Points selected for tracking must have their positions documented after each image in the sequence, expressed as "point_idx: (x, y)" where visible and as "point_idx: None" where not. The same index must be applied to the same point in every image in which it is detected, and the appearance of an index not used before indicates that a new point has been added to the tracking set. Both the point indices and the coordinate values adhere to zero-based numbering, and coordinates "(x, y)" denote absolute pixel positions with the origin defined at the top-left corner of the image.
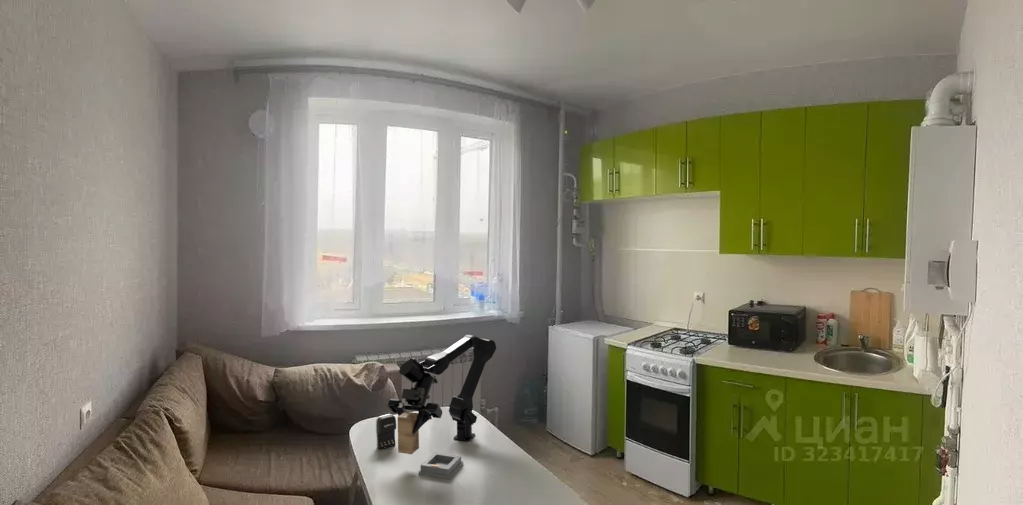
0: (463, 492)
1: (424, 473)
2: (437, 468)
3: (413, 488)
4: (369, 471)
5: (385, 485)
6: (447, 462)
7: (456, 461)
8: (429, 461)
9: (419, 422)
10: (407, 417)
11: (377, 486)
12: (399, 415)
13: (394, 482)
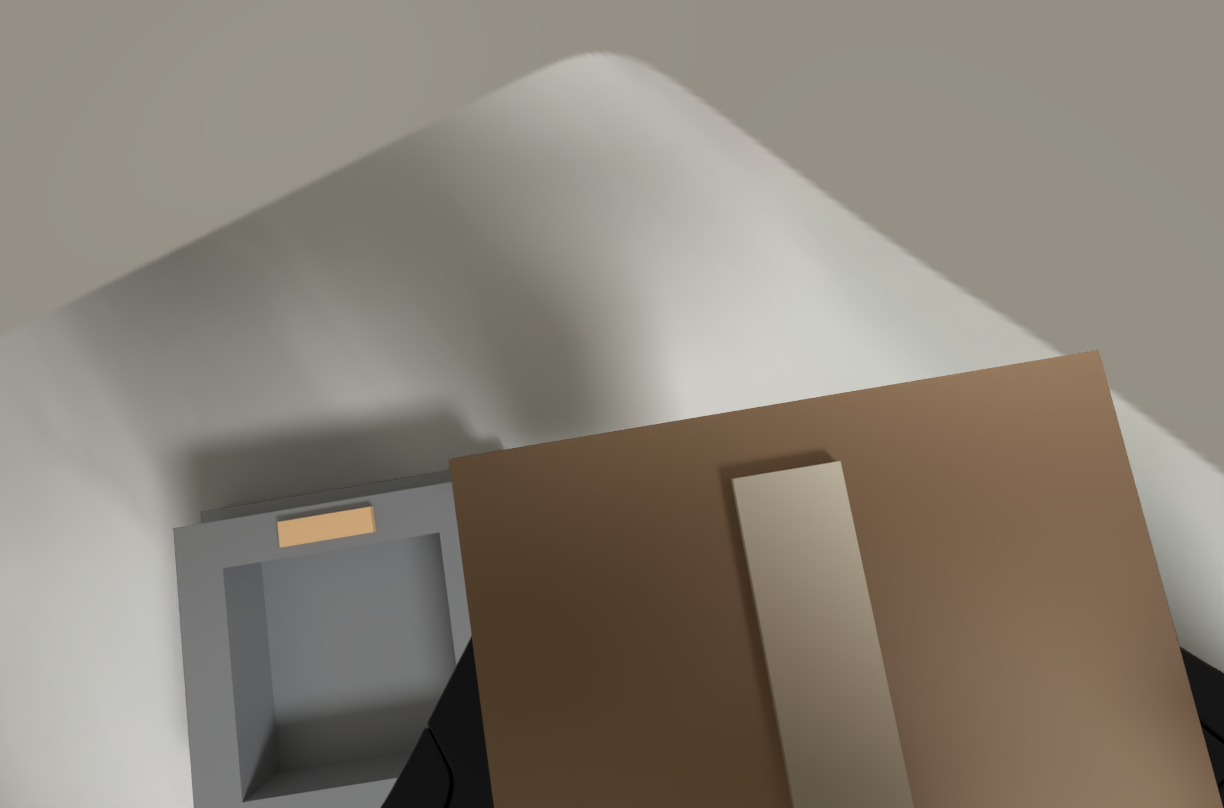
0: (18, 388)
1: (448, 471)
2: (297, 508)
3: (409, 259)
4: (942, 308)
5: (642, 193)
6: (357, 745)
7: (192, 726)
8: (448, 591)
9: (425, 772)
10: (658, 488)
11: (688, 152)
12: (1143, 516)
13: (609, 262)
